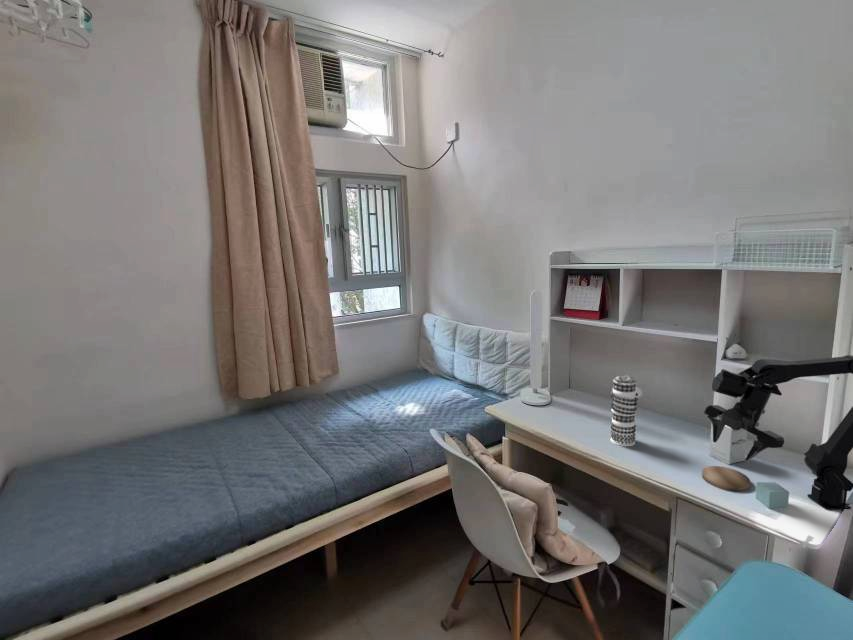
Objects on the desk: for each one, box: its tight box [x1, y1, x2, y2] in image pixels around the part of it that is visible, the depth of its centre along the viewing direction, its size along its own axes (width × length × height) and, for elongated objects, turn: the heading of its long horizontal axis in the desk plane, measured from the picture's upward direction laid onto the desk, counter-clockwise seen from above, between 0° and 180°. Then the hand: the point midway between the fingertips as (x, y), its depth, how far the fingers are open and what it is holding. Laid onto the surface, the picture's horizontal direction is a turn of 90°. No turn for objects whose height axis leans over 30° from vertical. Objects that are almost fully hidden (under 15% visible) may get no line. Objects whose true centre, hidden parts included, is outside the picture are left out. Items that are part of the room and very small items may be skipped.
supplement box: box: [709, 423, 748, 465], centre depth 142 cm, size 7×7×13 cm
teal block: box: [755, 481, 790, 510], centre depth 117 cm, size 5×5×5 cm
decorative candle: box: [610, 375, 639, 447], centre depth 157 cm, size 9×9×25 cm
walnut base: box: [701, 465, 751, 492], centre depth 130 cm, size 12×12×2 cm
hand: (730, 451), depth 123 cm, fingers open, 9 cm apart
